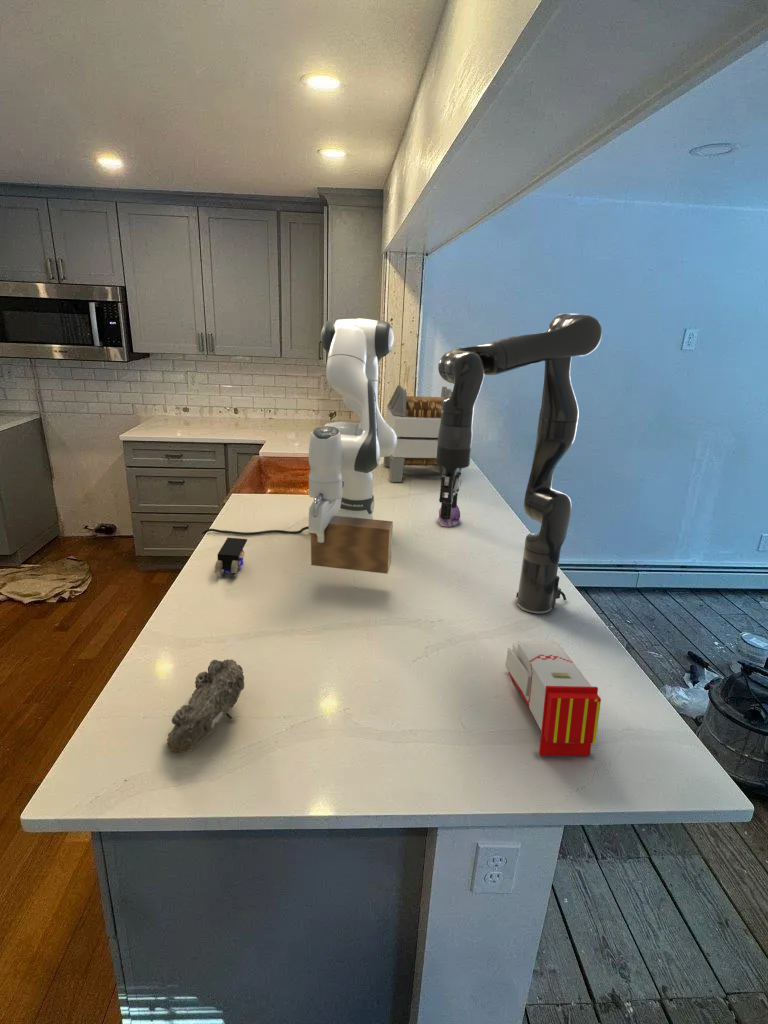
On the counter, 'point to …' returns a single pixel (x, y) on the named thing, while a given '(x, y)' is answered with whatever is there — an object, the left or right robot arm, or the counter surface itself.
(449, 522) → the figurine
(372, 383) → the left robot arm
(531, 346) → the right robot arm
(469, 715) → the counter surface
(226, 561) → the figurine character
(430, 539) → the counter surface
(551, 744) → the toy
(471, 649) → the counter surface
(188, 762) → the counter surface
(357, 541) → the box
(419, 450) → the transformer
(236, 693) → the fossil
